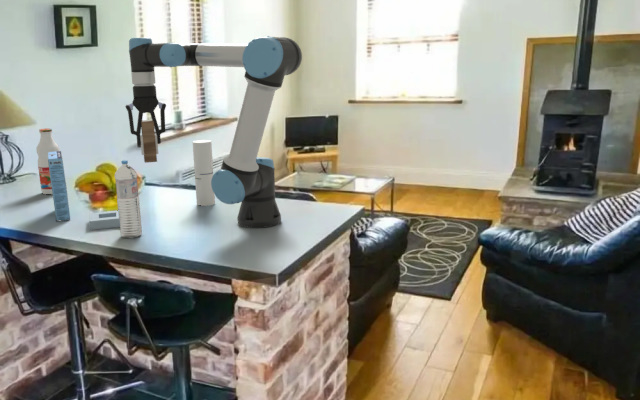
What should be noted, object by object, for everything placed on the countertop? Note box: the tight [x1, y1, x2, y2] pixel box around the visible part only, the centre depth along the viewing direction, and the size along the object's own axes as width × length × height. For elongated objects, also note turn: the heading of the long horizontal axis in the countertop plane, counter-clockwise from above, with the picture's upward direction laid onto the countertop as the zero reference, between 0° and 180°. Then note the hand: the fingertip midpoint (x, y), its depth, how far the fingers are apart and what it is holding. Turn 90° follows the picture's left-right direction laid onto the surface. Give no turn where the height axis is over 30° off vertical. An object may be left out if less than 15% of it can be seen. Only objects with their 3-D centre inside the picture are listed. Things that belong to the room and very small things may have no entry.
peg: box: [141, 119, 158, 163], centre depth 207 cm, size 4×4×14 cm
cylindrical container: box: [192, 139, 216, 207], centre depth 236 cm, size 7×7×25 cm
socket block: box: [88, 210, 120, 231], centre depth 213 cm, size 12×12×3 cm
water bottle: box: [114, 159, 143, 239], centre depth 196 cm, size 7×7×25 cm
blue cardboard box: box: [48, 150, 71, 221], centre depth 224 cm, size 20×5×23 cm, turn 23°
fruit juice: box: [35, 128, 60, 195], centre depth 262 cm, size 9×9×28 cm
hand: (149, 153), depth 208 cm, fingers closed on peg, 4 cm apart
